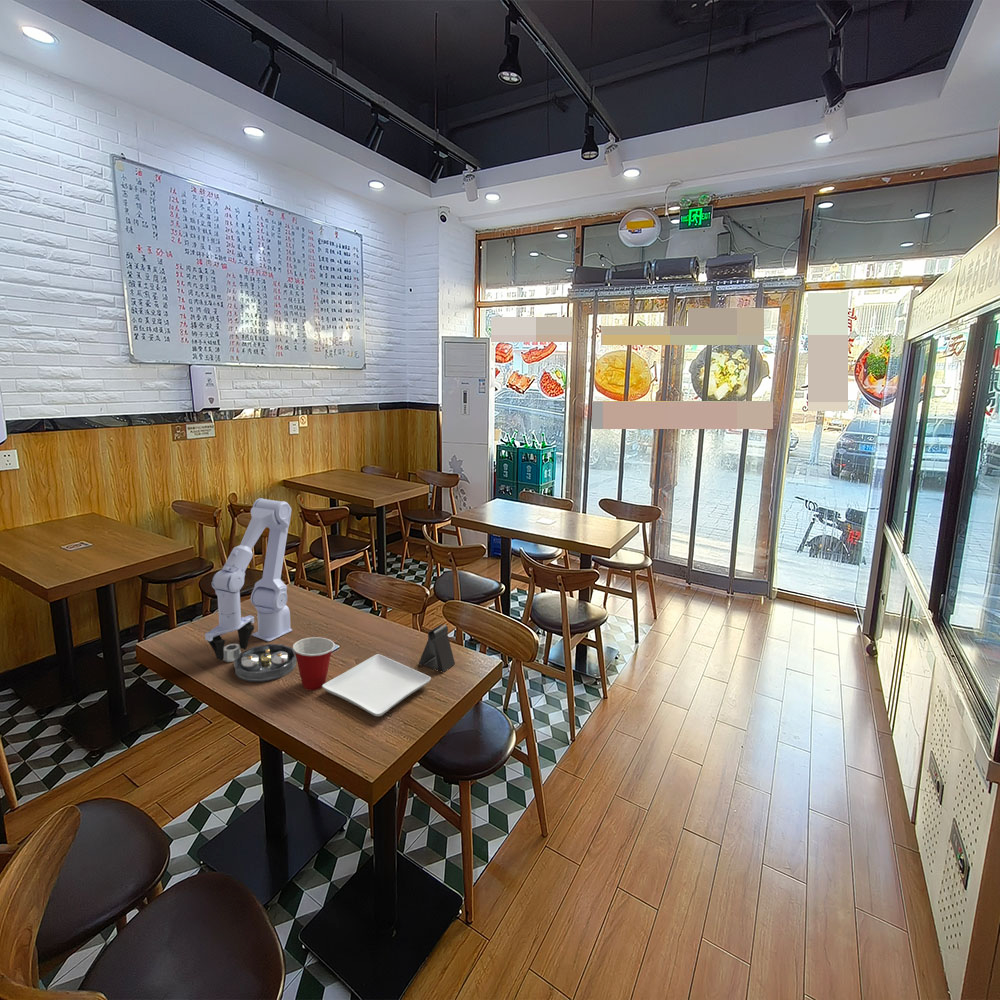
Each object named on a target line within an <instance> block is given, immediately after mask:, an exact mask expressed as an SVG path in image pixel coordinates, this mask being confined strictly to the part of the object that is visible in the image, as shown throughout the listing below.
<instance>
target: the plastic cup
mask: <svg viewBox="0 0 1000 1000" xmlns="http://www.w3.org/2000/svg"><path fill="white" fill-rule="evenodd" d="M335 647H336V645H335V642H334V641H333V640H332V639H328V638H327V637H319V636H316V637H314V636H312V637H306V638H302V639H300V640H298V641H297V640H296V641H295V642H294V644H292V648H293V650H294V651H295V655H296V659H297V661H296V664H297V666H298V667H297V668H298V672H299V676H300V680H301V684H302V687H303V689H305V690H308V691H317V690H319V689H322V688H323V687H322V685H323V684H325V683H326V681H327V674H328V671H329V665H330V661H331V660H330V659H331V656H332V653H333V651H334V649H335Z"/></svg>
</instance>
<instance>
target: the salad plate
mask: <svg viewBox="0 0 1000 1000" xmlns="http://www.w3.org/2000/svg"><path fill="white" fill-rule="evenodd" d="M431 680H432V677H431V676H430V675H427V674H425V673H424V672H420V671H418V670H417V669H414V668H412V667H409V666H407V665H405V664H403V663H401V662H398V661H397V660H394V659H391V658H389V657H387V656H384V655H382V654H380V653H376V654H374V655H372V656H371V657H369V658H367V659H365V660H364V661H362V662H360V663H359V664H356V666H353V667H351V668H350V669H348V670H346V671H345V672H343V673H341V674H339V675H337V676H335V677H333V678H332V679H330V680H328V681H327V682H325V684H323V685H322V688H323V689H324V690H325V691H326V693H329V694H331V695H334V696H336V697H338V698H341V699H342V700H345V701H347V702H348V703H350V704H352V705H354V706H357V707H358V708H359V709H362V710H364V711H365V712H367V713H369V714H370V715H372V716H374V717H382V716H383V715H385V713H387V712H388V711H390V709H392V708H394V707H395V706H397V705H398V704H400V703H401V702H402V701H404V700H405V699H406V698H408V697H409V696H410V695H412V694H414V693H415V692H417V691H418V690H420V689H421V688H423V687H424V686H426V685H427V684H428V683H429V682H430V681H431Z"/></svg>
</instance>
